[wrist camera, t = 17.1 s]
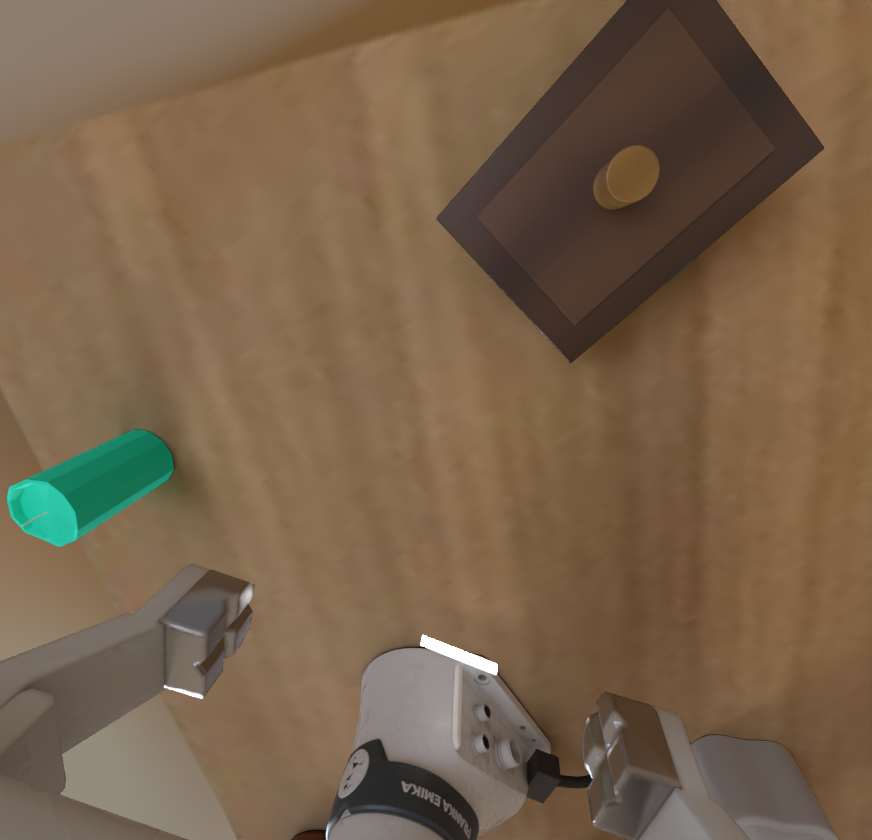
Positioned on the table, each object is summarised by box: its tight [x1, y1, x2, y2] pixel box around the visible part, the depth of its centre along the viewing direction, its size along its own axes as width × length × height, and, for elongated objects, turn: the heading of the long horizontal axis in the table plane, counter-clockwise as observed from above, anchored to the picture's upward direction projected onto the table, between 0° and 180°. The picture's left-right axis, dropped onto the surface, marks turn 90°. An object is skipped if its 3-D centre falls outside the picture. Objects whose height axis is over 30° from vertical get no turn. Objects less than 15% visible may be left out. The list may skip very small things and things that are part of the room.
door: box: [436, 0, 824, 363], centre depth 23 cm, size 12×16×4 cm
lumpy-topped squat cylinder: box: [691, 735, 839, 840], centre depth 43 cm, size 10×13×9 cm
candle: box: [7, 429, 174, 547], centre depth 38 cm, size 6×6×12 cm
